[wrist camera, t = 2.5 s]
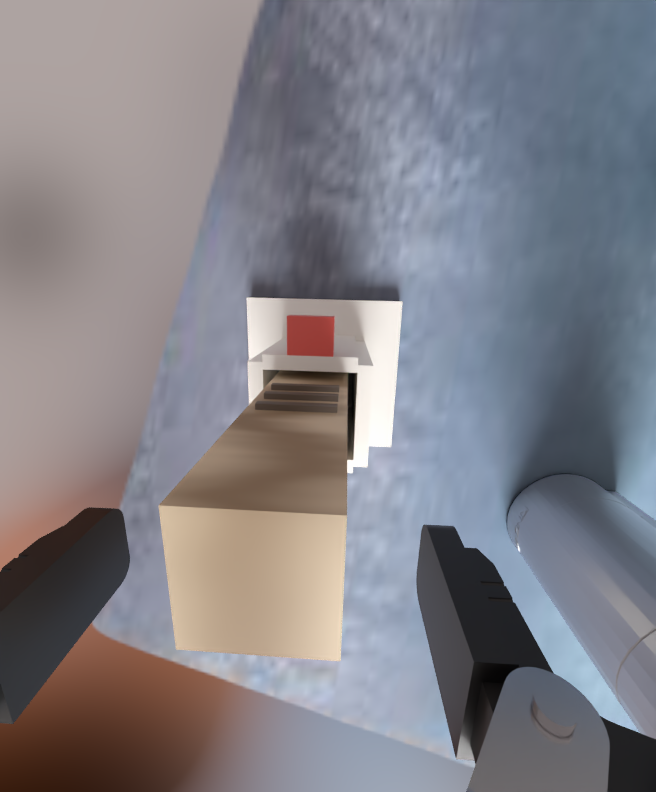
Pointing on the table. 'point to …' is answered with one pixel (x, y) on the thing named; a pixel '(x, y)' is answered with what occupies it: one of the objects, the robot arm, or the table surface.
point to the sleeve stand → (332, 356)
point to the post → (265, 527)
